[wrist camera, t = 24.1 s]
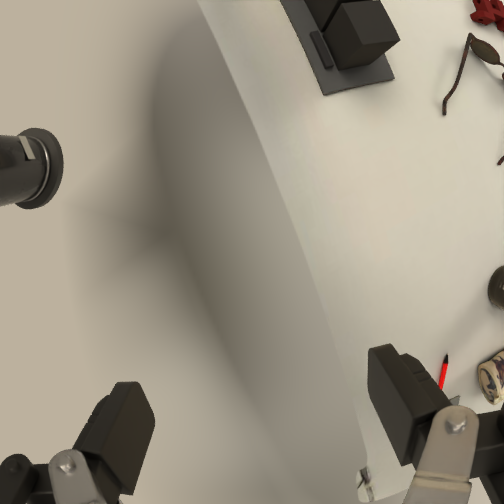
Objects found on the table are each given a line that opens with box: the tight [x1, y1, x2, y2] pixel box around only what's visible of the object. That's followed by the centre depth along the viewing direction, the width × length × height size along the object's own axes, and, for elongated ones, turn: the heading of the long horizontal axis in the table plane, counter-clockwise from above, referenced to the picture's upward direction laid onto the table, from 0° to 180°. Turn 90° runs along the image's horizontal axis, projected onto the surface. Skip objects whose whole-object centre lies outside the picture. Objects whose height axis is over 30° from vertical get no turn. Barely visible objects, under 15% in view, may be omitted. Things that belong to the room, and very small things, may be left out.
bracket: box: [470, 0, 504, 32], centre depth 26 cm, size 3×6×10 cm
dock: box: [280, 0, 395, 95], centre depth 25 cm, size 10×20×10 cm, turn 20°
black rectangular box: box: [323, 0, 400, 71], centre depth 26 cm, size 4×5×9 cm
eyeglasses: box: [443, 33, 504, 165], centre depth 30 cm, size 15×15×5 cm
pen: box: [438, 354, 448, 390], centre depth 44 cm, size 1×19×1 cm, turn 7°
